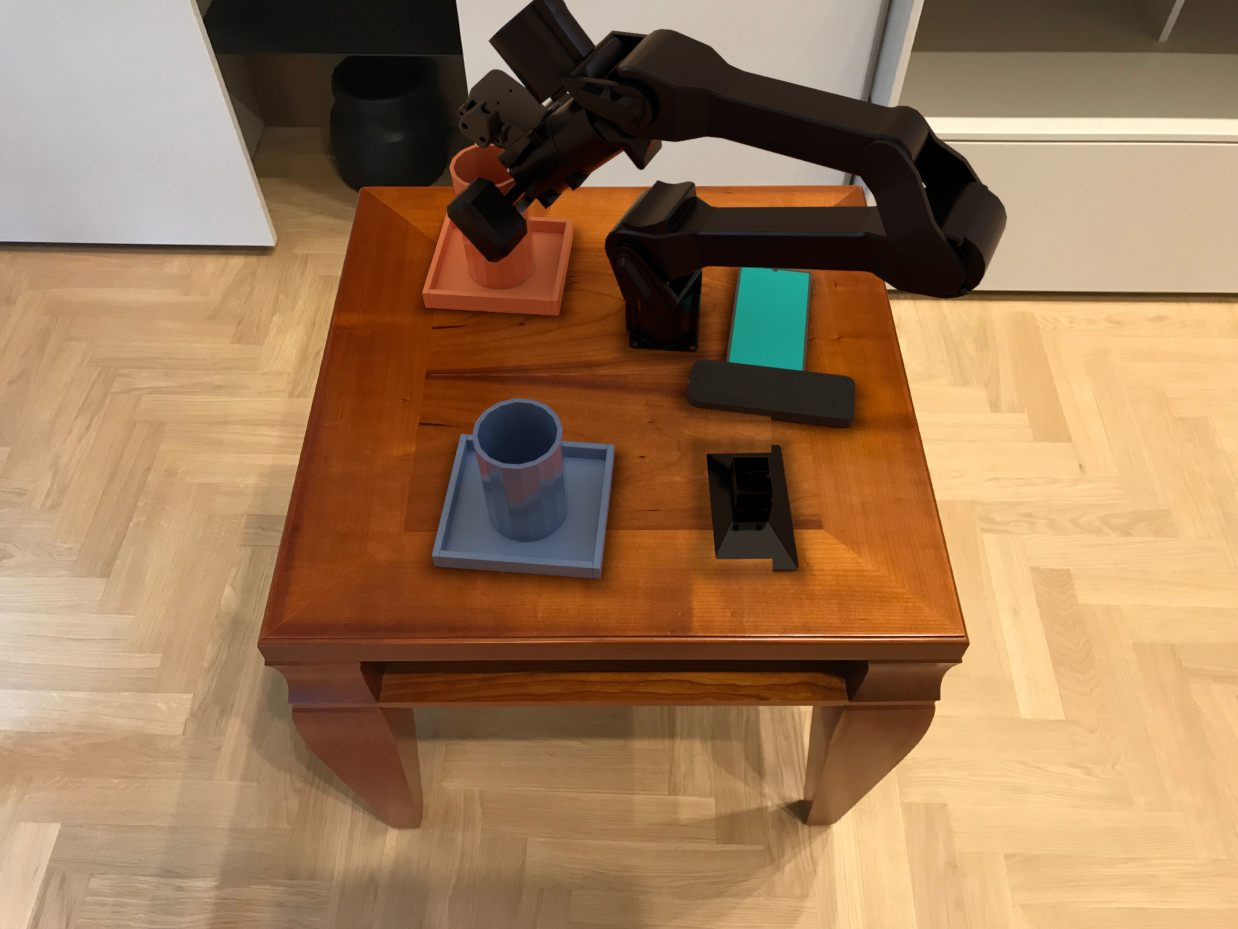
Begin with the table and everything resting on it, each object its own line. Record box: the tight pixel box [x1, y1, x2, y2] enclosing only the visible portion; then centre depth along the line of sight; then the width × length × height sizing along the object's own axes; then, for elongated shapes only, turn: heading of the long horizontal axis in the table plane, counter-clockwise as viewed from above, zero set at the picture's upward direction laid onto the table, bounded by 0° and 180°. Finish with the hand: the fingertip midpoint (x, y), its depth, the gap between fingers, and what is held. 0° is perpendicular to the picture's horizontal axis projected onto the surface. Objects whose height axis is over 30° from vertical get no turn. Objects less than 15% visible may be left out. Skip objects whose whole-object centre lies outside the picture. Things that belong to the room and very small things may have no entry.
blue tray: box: [431, 433, 616, 580], centre depth 77 cm, size 13×12×2 cm
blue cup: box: [471, 397, 569, 542], centre depth 74 cm, size 7×7×10 cm
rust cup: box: [448, 144, 535, 289], centre depth 91 cm, size 7×7×12 cm
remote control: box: [686, 358, 856, 428], centre depth 85 cm, size 5×2×15 cm
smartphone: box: [725, 267, 813, 371], centre depth 90 cm, size 7×1×15 cm
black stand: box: [705, 444, 800, 572], centre depth 77 cm, size 12×7×5 cm, turn 1°
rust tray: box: [421, 213, 574, 317], centre depth 95 cm, size 13×12×2 cm
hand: (482, 208), depth 91 cm, fingers closed on rust cup, 7 cm apart
